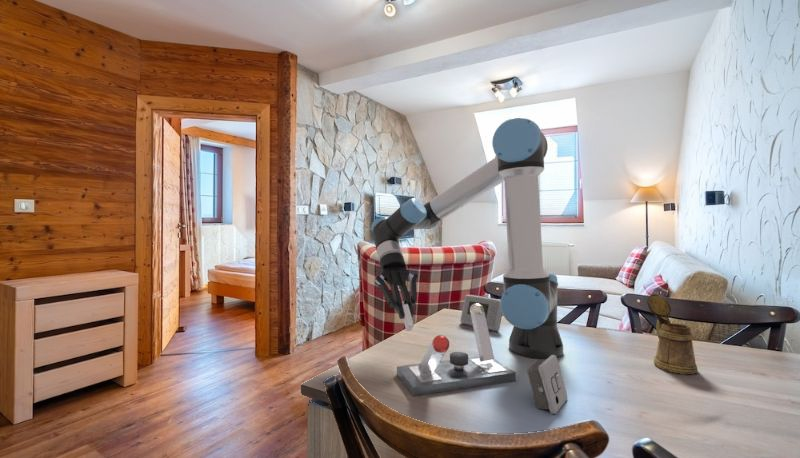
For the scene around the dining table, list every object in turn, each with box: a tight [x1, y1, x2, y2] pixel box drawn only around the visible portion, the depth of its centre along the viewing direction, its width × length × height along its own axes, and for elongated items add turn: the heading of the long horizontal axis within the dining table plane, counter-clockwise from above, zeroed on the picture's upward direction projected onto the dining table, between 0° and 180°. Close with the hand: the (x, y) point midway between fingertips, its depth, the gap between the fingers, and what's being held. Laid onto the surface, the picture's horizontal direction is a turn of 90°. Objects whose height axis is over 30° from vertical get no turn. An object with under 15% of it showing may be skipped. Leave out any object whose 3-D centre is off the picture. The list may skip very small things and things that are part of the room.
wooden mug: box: [646, 292, 699, 375], centre depth 99 cm, size 9×14×18 cm, turn 0°
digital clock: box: [459, 294, 503, 332], centre depth 135 cm, size 16×9×11 cm, turn 34°
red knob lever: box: [418, 334, 450, 375], centre depth 83 cm, size 4×4×14 cm
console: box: [396, 356, 517, 397], centre depth 90 cm, size 26×12×4 cm, turn 108°
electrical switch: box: [526, 355, 568, 415], centre depth 78 cm, size 9×5×9 cm, turn 141°
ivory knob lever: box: [470, 303, 495, 362], centre depth 96 cm, size 4×4×14 cm
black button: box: [449, 351, 469, 366], centre depth 91 cm, size 4×4×2 cm
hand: (410, 328), depth 98 cm, fingers closed
